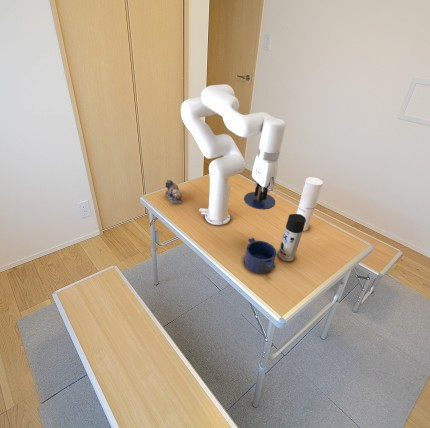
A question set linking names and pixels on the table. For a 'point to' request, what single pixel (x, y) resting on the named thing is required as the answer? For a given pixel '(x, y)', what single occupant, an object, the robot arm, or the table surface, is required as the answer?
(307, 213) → the cylindrical container
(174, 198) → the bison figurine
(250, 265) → the pan
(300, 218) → the spray can
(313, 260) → the table surface
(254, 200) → the pan lid
